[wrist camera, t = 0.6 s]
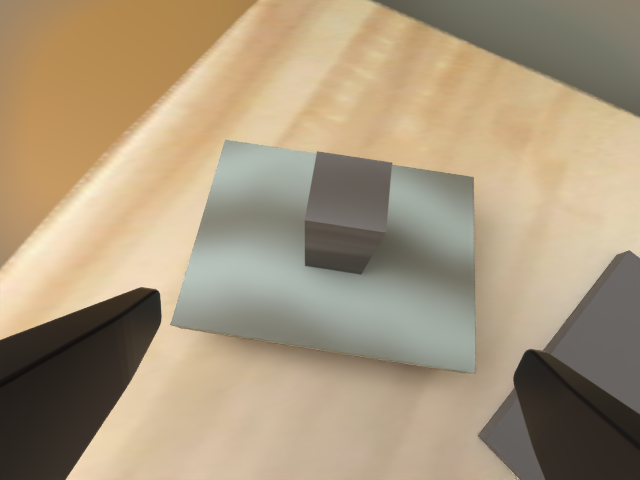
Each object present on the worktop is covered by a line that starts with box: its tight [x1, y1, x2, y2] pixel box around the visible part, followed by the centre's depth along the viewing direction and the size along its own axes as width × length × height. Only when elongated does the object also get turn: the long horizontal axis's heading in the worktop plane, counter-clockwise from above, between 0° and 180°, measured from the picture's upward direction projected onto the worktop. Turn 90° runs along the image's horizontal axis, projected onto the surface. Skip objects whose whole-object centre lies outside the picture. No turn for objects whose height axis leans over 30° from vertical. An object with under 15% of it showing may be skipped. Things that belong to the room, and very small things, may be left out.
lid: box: [171, 140, 475, 373], centre depth 17 cm, size 11×15×8 cm
